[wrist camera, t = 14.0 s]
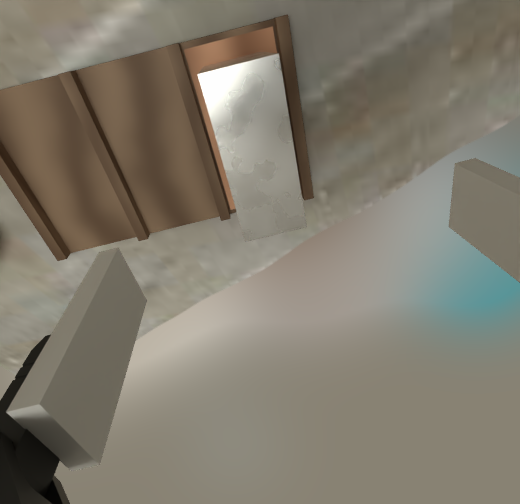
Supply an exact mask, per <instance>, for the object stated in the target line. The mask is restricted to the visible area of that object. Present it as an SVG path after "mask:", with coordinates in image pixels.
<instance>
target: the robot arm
mask: <svg viewBox="0 0 520 504" xmlns="http://www.w3.org/2000/svg"><path fill="white" fill-rule="evenodd" d="M449 227H450V228H451V229H452V230H454V231H455V232H456V233H457V234H459V235H460V236H461V237H462V238H464V239H465V240H466V241H468V242H469V243H470V244H471V245H473V246H474V247H475V248H476V249H478V250H479V251H480V252H481V253H483V254H484V255H485V256H487V257H488V258H489V259H490V260H492V261H493V262H494V263H495V264H497V265H498V266H499V267H501V268H502V269H503V270H504V271H506V272H507V273H508V274H509V275H511V276H512V277H513V278H515V279H516V280H517V281H518V282H520V178H519V177H517V176H515V175H512V174H510V173H508V172H506V171H503V170H501V169H499V168H496V167H494V166H492V165H490V164H487V163H485V162H483V161H480V160H478V159H476V158H474V159H470V160H467V161H462V162H459V163H455V168H454V178H453V188H452V199H451V209H450V220H449ZM146 302H147V300H146V298H145V296H144V294H143V292H142V290H141V289H140V287H139V285H138V283H137V281H136V279H135V277H134V276H133V274H132V272H131V270H130V268H129V266H128V264H127V263H126V261H125V259H124V257H123V255H122V253H121V251H120V250H119V248H114V249H110V250H106V251H102V252H99V254H98V255H97V257H96V259H95V261H94V262H93V264H92V266H91V267H90V269H89V271H88V273H87V274H86V276H85V278H84V279H83V281H82V283H81V285H80V286H79V288H78V290H77V291H76V293H75V295H74V296H73V298H72V300H71V302H70V303H69V305H68V307H67V308H66V310H65V312H64V314H63V315H62V317H61V319H60V320H59V322H58V324H57V326H56V327H55V329H54V331H53V332H52V334H51V335H47V336H45V337H44V338H43V339H42V340H41V341H40V342H39V343H38V344H37V345H36V346H35V347H34V348H33V349H32V350H31V352H30V354H29V355H28V357H27V358H26V360H25V362H24V363H23V367H22V368H20V370H19V371H18V373H17V375H16V376H15V380H13V381H12V383H11V384H10V386H9V388H8V389H7V391H6V392H5V394H4V396H3V398H2V399H1V400H0V504H70V503H69V500H68V498H67V496H66V494H65V491H64V489H63V487H62V484H61V482H60V481H59V480H58V479H57V478H56V477H55V476H54V473H55V471H56V468H57V466H58V463H59V461H61V462H62V463H63V464H64V465H65V466H66V467H68V468H69V469H70V470H71V471H75V470H80V469H84V468H88V467H92V466H97V465H100V462H101V458H102V455H103V451H104V448H105V445H106V441H107V438H108V434H109V431H110V427H111V424H112V420H113V417H114V413H115V409H116V406H117V403H118V399H119V396H120V392H121V388H122V385H123V382H124V378H125V375H126V372H127V368H128V365H129V361H130V357H131V354H132V351H133V347H134V344H135V340H136V337H137V333H138V330H139V326H140V323H141V319H142V316H143V312H144V309H145V305H146Z"/></svg>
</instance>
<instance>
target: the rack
mask: <svg viewBox="0 0 520 504" xmlns="http://www.w3.org/2000/svg"><path fill="white" fill-rule="evenodd" d="M257 52H270V53H279V57H280V64H281V70H282V76H283V82H284V88H285V95H286V101H287V107H288V113H289V119H290V126H291V132H292V138H293V144H294V151H295V157H296V163H297V169H298V175H299V182H300V188H301V194H302V197H303V199H304V200H308V199H312V198H314V196H313V189H312V182H311V175H310V167H309V160H308V153H307V146H306V139H305V132H304V125H303V118H302V111H301V103H300V96H299V89H298V82H297V75H296V68H295V61H294V54H293V47H292V39H291V32H290V25H289V18H288V15H284V16H280V17H276V18H274V19H271V20H267V21H263V22H259V23H255V24H252V25H248V26H244V27H240V28H236V29H232V30H229V31H225V32H221V33H217V34H213V35H209V36H206V37H202V38H198V39H194V40H190V41H186V42H183V43H177V44H173V45H169V46H166V47H163V48H160V49H156V50H152V51H148V52H144V53H140V54H137V55H133V56H129V57H125V58H121V59H117V60H114V61H110V62H106V63H102V64H98V65H94V66H91V67H87V68H83V69H79V70H75V71H69V72H66V73H62V74H58V75H56V76H52V77H49V78H45V79H41V80H37V81H33V82H29V83H26V84H22V85H18V86H14V87H10V88H6V89H3V90H0V175H1V177H2V178H3V180H4V181H5V183H6V184H7V186H8V187H9V189H10V190H11V192H12V193H13V195H14V196H15V198H16V199H17V201H18V202H19V204H20V205H21V207H22V208H23V210H24V211H25V213H26V214H27V216H28V217H29V219H30V220H31V222H32V223H33V225H34V226H35V228H36V229H37V231H38V232H39V234H40V235H41V237H42V238H43V240H44V241H45V243H46V244H47V246H48V247H49V249H50V250H51V252H52V253H53V255H54V256H55V258H56V259H57V261H60V260H64V259H67V258H68V256H69V255H70V254H71V253H73V252H77V251H81V250H85V249H89V248H93V247H97V246H101V245H105V244H109V243H113V242H117V241H121V240H125V239H129V238H134V237H137V238H138V240H139V241H141V240H145V239H148V237H149V235H150V233H154V232H158V231H162V230H166V229H170V228H174V227H178V226H182V225H186V224H190V223H194V222H198V221H202V220H207V219H211V218H215V217H219V216H220V219H221V221H222V220H226V219H230V214H231V213H235V212H237V211H236V208H235V204H234V201H233V197H232V194H231V190H230V187H229V183H228V180H227V176H226V173H225V169H224V166H223V162H222V159H221V155H220V151H219V148H218V144H217V141H216V137H215V134H214V130H213V127H212V123H211V120H210V116H209V113H208V109H207V106H206V102H205V99H204V95H203V91H202V88H201V84H200V81H199V77H198V73H199V72H200V71H201V69H202V68H203V67H204V66H207V65H211V64H215V63H219V62H222V61H226V60H230V59H234V58H238V57H242V56H246V55H249V54H253V53H257Z"/></svg>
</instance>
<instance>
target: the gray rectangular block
mask: <svg viewBox="0 0 520 504" xmlns="http://www.w3.org/2000/svg"><path fill="white" fill-rule="evenodd" d="M198 77H199V81H200V84H201V88H202V91H203V95H204V99H205V102H206V106H207V109H208V113H209V116H210V120H211V123H212V127H213V130H214V134H215V137H216V141H217V144H218V148H219V151H220V155H221V159H222V162H223V166H224V169H225V173H226V176H227V180H228V183H229V187H230V190H231V194H232V197H233V201H234V204H235V208H236V211H237V215H238V219H239V222H240V226H241V229H242V233H243V236H244V240H245V242H247V241H251V240H255V239H259V238H263V237H267V236H271V235H275V234H280V233H284V232H288V231H292V230H296V229H300V228H304V227H307V225H306V219H305V213H304V206H303V200H302V194H301V188H300V182H299V175H298V169H297V163H296V157H295V151H294V144H293V138H292V132H291V126H290V119H289V113H288V107H287V101H286V95H285V88H284V82H283V76H282V70H281V64H280V57H279V53H270V52H257V53H253V54H249V55H246V56H242V57H238V58H234V59H230V60H226V61H222V62H219V63H215V64H211V65H207V66H204V67H203V68H202V69H201V71H200V72H199V73H198Z"/></svg>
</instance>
